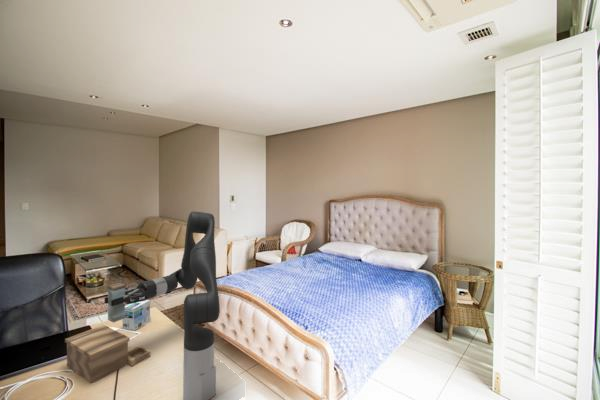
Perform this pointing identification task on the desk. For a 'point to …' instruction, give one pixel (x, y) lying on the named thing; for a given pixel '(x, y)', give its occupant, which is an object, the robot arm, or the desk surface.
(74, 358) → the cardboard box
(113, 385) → the desk surface
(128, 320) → the light bulb box
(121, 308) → the grey block with cap
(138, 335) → the photo frame
